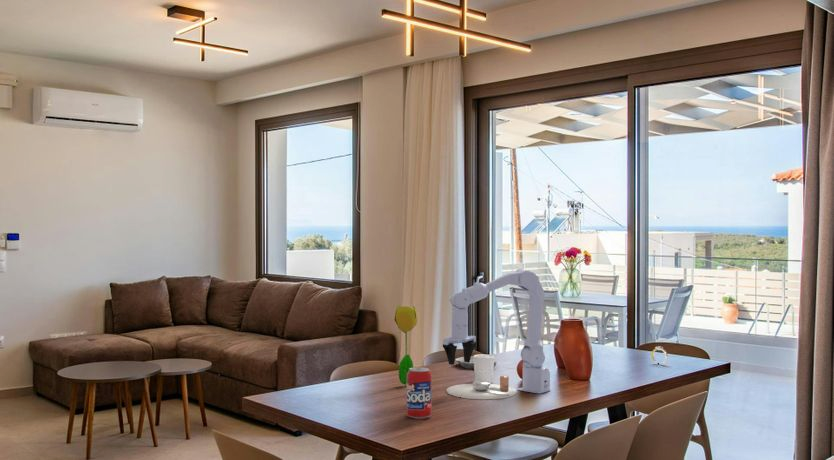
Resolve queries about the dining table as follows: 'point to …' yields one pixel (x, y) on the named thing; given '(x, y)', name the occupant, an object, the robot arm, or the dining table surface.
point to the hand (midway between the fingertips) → (459, 363)
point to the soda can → (419, 393)
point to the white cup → (484, 367)
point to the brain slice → (468, 365)
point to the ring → (659, 349)
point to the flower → (405, 323)
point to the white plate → (479, 392)
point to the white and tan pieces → (486, 386)
